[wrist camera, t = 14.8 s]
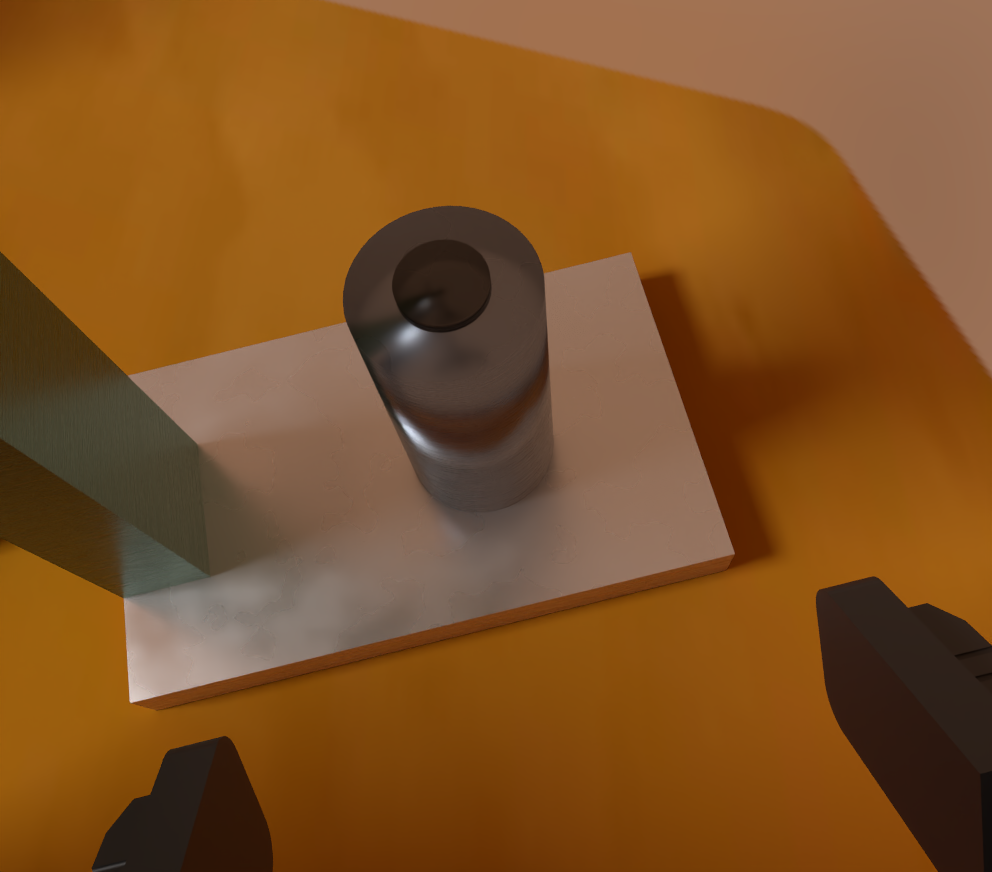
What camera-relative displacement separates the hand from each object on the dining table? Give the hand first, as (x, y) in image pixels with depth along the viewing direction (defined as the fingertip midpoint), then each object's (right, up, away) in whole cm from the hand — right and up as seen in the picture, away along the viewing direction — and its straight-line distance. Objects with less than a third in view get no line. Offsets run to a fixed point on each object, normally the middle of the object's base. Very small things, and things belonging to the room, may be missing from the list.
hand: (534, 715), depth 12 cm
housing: (-1, +3, +19) cm, 20 cm away
